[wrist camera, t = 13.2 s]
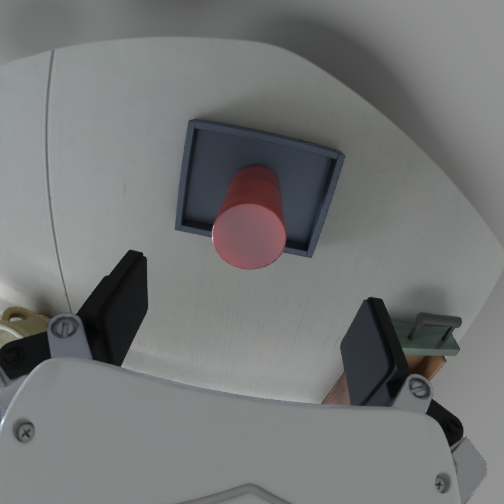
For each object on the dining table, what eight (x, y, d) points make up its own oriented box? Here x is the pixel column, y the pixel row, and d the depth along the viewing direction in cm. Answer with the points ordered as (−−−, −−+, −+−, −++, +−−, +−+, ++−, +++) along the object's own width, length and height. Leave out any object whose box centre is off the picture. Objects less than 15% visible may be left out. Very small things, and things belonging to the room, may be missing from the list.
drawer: (399, 295, 30) (413, 322, 26) (461, 304, 31) (476, 328, 27) (346, 379, 38) (352, 405, 34) (405, 380, 39) (413, 402, 35)
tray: (340, 151, 24) (345, 155, 22) (309, 248, 29) (311, 258, 27) (194, 118, 23) (188, 120, 21) (180, 221, 28) (174, 229, 26)
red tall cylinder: (257, 154, 24) (251, 187, 15) (289, 190, 26) (301, 242, 17) (220, 186, 26) (196, 235, 17) (253, 219, 27) (246, 281, 19)
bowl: (8, 312, 39) (-18, 345, 30) (30, 268, 33) (-7, 308, 24) (72, 372, 45) (53, 409, 37) (112, 347, 39) (89, 395, 31)
